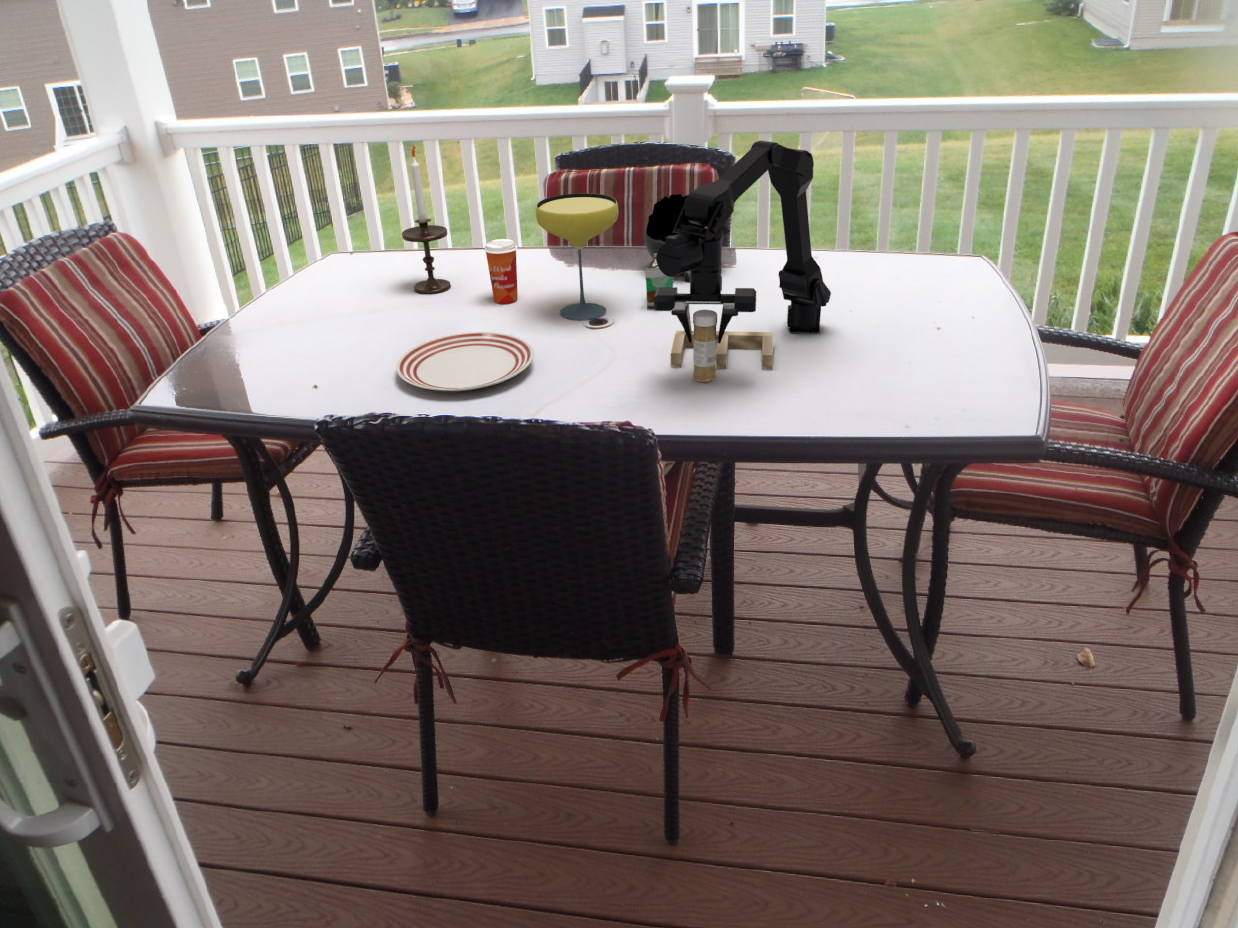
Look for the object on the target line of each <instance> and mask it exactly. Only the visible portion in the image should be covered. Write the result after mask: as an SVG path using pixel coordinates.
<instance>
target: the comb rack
mask: <svg viewBox="0 0 1238 928" xmlns="http://www.w3.org/2000/svg"><path fill="white" fill-rule="evenodd" d="M718 334H719V330H716V338H717V350H716V369H727V362H728V353H729V349H731V350H737V349H738V350H761V370H773V361H774V359H773V358H774V357H773V356H774V352H773V349H774V348H773V346H774V345H773V344H774V343H773V336H774V335H773V331H770V332H769V331H727V330H725V332H724V335H723V337H722V340H721V343H718ZM693 340H694V330H692V343H689V340H688V338H687V335H686V333H685V330H675V333H674V338H673V343H672V346H671V351H670V368H682V363H683V359H684V353H685V349H694V345H693Z"/></svg>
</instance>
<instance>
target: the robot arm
mask: <svg viewBox="0 0 1238 928" xmlns="http://www.w3.org/2000/svg"><path fill="white" fill-rule="evenodd" d="M814 164H815V163H814V158H813V154H812V153H811V152H809V151H808V150H806V149H805V150H804V149H797V148H790V147H785V146H784V145H782V144H780V143H779V142H774V141H768V140H758V141H755V142H753V143H752V145H751V147H750V149H749V150H747V152H746V153H745V154H744V155H743V156H742V157H741V158H739V160H737V161H736V162H735V163H734V164H733V165H732V166H731V167H730V168H728V170H727V171H725V172H724V174H722V175H721V176H720V177H718V178H717V179H716V180H714V181H713V182H708V183H705V184H702V185H700V186H698V187H696V188H695V189H694V190H692V191H690V192H689V194H687V195H688V196H687V198H686V199H685V203H684V205H683V207H682V210H681V212H680V214H679V217H678V219H677V222H676V224H675V226H674V229H673V232H674V233H679V234H677V235H674V236H668V237H666V238H665V244H664V245H662V246H661V247H660V248H659V250H658V253H657V255H656V260H657V264H658V267H659V269H660V270H661V272H662V273H663V274H664V275H666V276H668V277H673V278H674V277H675V276H679V275H681V274H684V276H683V278H684V279H683V281H684V283H689V293H678V287H675V286H673V287H659V288H658V289H657V290H656V293H655V297H654V309H653V310H654V311H656V312H671V316H676V317H677V320H678V321H679V322H680V324H681V325H682V326H681V327H683V331H685V333H686V335H687V338H688V340H689V343H692V331H693V330H692V322H691V315H690V314H691V313H690V305H722V311H721V316H720V323H719V328H718V331H719V334H718V343H721V340H722V337H723V335H724V332H725V331H727V330H726V329H727V327H728V325H729V323H730V322H731V320H732V318H733V317H738V316H739V313H755V312H756V310H757V291H756V290H755V288H753V287H735V289H734V293H722V289H723V276H722V251H723V250H722V249H723V248H722V247H723V245H722V244H723V242H722V236H723V235H724V236H725V235H728V234H729V233H730V229H729V228H727V226H725V223H726V222H727V220H729V218H730V217H731V216H732V214H733V213H734V211H735V204H736V201H737V200H738V199H739V198H740V197H741V196H742V195H743V194H744V193H746V192H747V191H748V190H749V189H750V188H752V187H751V186H752V185H754V184H755V183H756V182H757V181H758V180H759V179H760V178H761V177H762V176H764V175H765V173H767V172H768V177H769V180H770V184H771V185H772V187H773V188H774V189H775V191H776V193H778V195H779V197H780V203H781V205H780V207H781V213H782V214H781V215H782V223H783V231H784V232H783V233H784V242H785V252H786V262H785V263H784V265H783V267H782V269H781V270H780V271H778V279H779V285H778V288H780V289H781V292H782V297H783V300H786V301H790V304H789V305H787V314H786V315H787V317H786V327H787V328H788V331H789V334H820V333H821V326H820V325H821V313H822V312H821V311H822V307H826V306H827V303H828V304H829V302H830V300H831V295H832V292H831V290H830V288H828V286H827V284H826V283H825V282H824V280H823V279H824V278H823V273H822V269H821V267H820V266H819V264H818V263H817V261H816V260H815V258H814V257H813V256H812V246H811V244H812V243H811V234H810V233H811V231H810V223H809V222H810V221H809V213H808V212H809V210H808V199H807V198H808V197H807V190H808V189H809V186H810V184H811V182H812V181H813V178H814V167H815V165H814ZM689 222H690V223H693V224H698V225H703V226H707V227H705V228H702V227H697V226H693V225H688V223H689Z"/></svg>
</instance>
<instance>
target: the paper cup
mask: <svg viewBox="0 0 1238 928" xmlns="http://www.w3.org/2000/svg"><path fill="white" fill-rule="evenodd" d="M484 247H485V248H484V249H483V250H484V251H483V252H485V254H486V260H487V266H488V272H489V277H490V278H489V280H490V285H491V290H492V295H493V300H494V302H495V304H497V305H511V304H513V303H516V302H517V301H518V295H519V294H518V272H517V271H518V270H517V268H518V267H517V265H518V264H517V250H518V246H517V244H516V243H515V241H514V240H512V239H508V238H498V239H493V240H490V241H489V242H487V243H485V246H484Z"/></svg>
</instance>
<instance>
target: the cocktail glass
mask: <svg viewBox="0 0 1238 928" xmlns="http://www.w3.org/2000/svg"><path fill="white" fill-rule="evenodd" d="M535 217H536V222H537V224H538V225H539V226H540V227H541V228H542V229H543V230H544V231H546V232H547V233H550V234H552V235H554V236H556V237H558V238H561V239H564V240H566V241H568V242H569V243H570V244H571V246H573V248H574V249H576V250H577V252H578V254H577V255H578V270H579V273H578V274H579V302H578V303H577V302H575V303H571V304H568V305H566V306H563V307H562V308H561V309H560V310H559V315H560V317H562V318H564V319H567V320H571V321H589V320H594V319H598V318H600V317H603V316H604V315H606V313H607V308H606V307H605V306H604V305H603V304H600V303H595V302H586V298H585V294H584V293H585V291H584V280H583V279H584V278H583V277H584V276H583V265H582V250H583V249H584V248H585V246H587V244H588V243H589V241H590V240H591V239H593V238H594V237H596V236H598V235H601V234H602V233H605V232H606V231H607V230H609V229H610V228H611V227H613V225H614V224H615V223H616V222H617V220H618V219H619V205H618V201H617V199H616V198H614V197H612V196H610V195H607V194H600V193H590V192H589V193H582V192H581V193H580V192H578V193H566V194H559V195H554V196H550V197H547V198H543V199H542V200H539V201H538V202H537V204H536V205H535Z"/></svg>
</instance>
